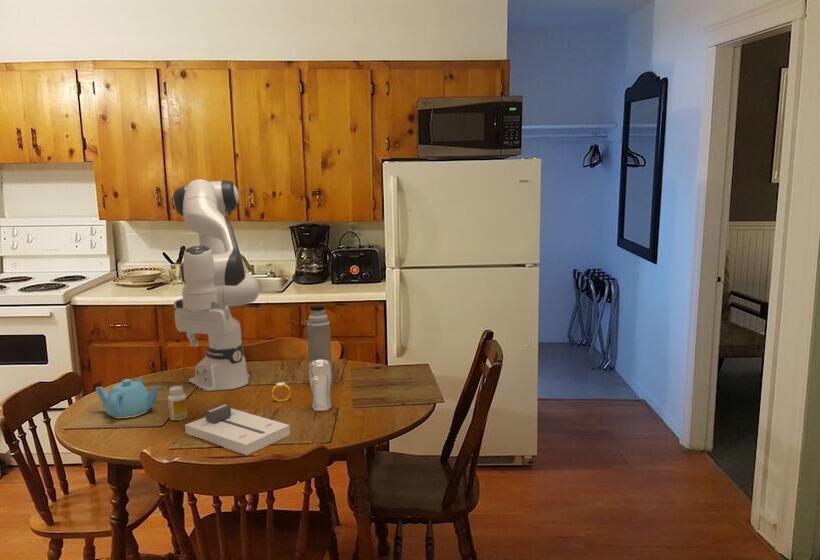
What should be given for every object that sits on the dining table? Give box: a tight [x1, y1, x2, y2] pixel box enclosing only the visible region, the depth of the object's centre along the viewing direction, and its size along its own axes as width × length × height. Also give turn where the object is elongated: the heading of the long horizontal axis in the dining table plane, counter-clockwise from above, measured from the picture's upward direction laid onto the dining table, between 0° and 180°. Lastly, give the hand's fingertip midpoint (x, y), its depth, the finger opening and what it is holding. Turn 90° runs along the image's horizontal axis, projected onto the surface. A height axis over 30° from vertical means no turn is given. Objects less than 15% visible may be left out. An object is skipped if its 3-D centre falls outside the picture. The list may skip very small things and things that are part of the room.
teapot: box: [95, 377, 160, 417], centre depth 210 cm, size 15×15×11 cm
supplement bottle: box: [167, 385, 189, 421], centre depth 204 cm, size 5×5×10 cm
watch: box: [271, 381, 292, 402], centre depth 218 cm, size 6×3×6 cm, turn 101°
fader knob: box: [204, 403, 232, 423], centre depth 195 cm, size 4×6×3 cm, turn 145°
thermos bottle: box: [306, 305, 334, 387], centre depth 231 cm, size 8×8×28 cm
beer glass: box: [308, 359, 333, 412], centre depth 209 cm, size 7×7×15 cm
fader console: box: [184, 407, 291, 456], centre depth 191 cm, size 26×16×3 cm, turn 55°
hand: (206, 347), depth 197 cm, fingers open, 8 cm apart
